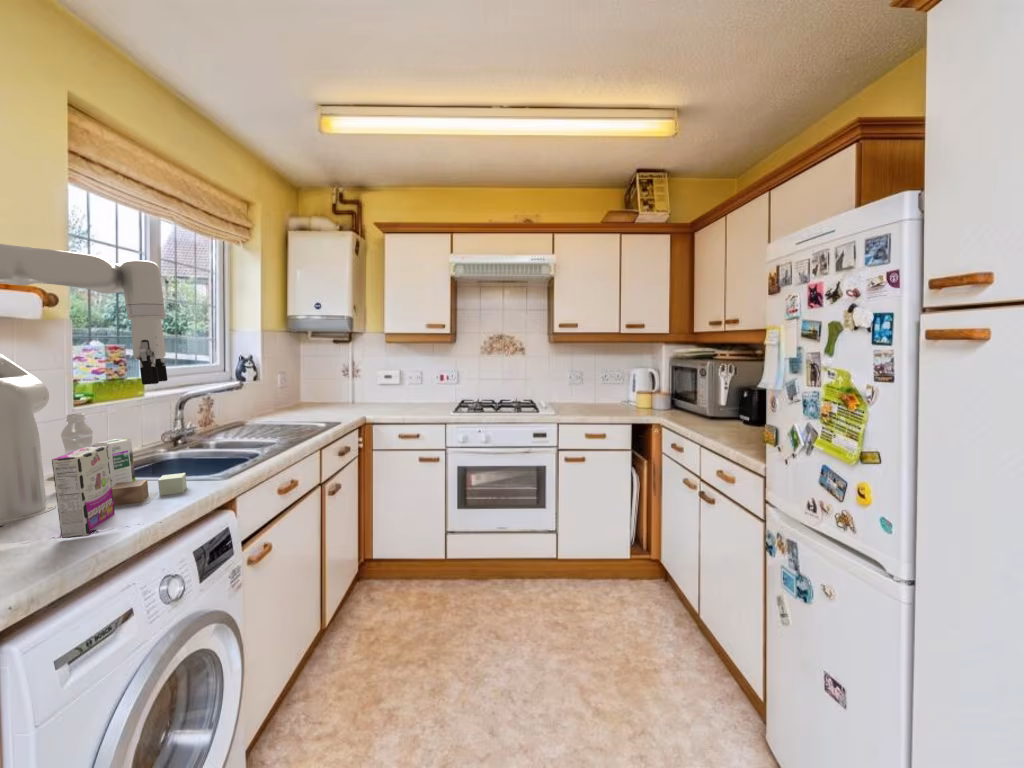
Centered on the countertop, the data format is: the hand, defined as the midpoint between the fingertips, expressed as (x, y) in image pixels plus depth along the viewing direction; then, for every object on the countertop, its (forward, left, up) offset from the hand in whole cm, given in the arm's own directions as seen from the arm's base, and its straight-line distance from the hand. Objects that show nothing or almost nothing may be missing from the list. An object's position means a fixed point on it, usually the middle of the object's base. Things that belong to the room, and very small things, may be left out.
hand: (155, 382), depth 121 cm
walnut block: (-6, -3, -28) cm, 29 cm away
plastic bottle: (-23, +25, -29) cm, 45 cm away
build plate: (-6, -3, -29) cm, 30 cm away
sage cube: (+2, +1, -29) cm, 29 cm away
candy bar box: (-10, -18, -29) cm, 36 cm away
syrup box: (-11, +7, -29) cm, 32 cm away
